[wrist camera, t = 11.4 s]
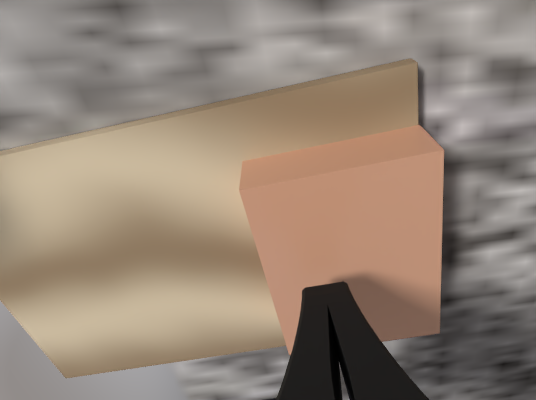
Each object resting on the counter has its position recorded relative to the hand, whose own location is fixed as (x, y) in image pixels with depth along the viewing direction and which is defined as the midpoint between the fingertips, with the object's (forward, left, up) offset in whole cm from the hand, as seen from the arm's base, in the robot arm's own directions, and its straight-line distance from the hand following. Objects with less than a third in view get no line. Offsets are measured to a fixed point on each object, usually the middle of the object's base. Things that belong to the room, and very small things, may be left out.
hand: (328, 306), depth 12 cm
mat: (0, +5, -4) cm, 6 cm away
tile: (0, +2, -2) cm, 3 cm away
